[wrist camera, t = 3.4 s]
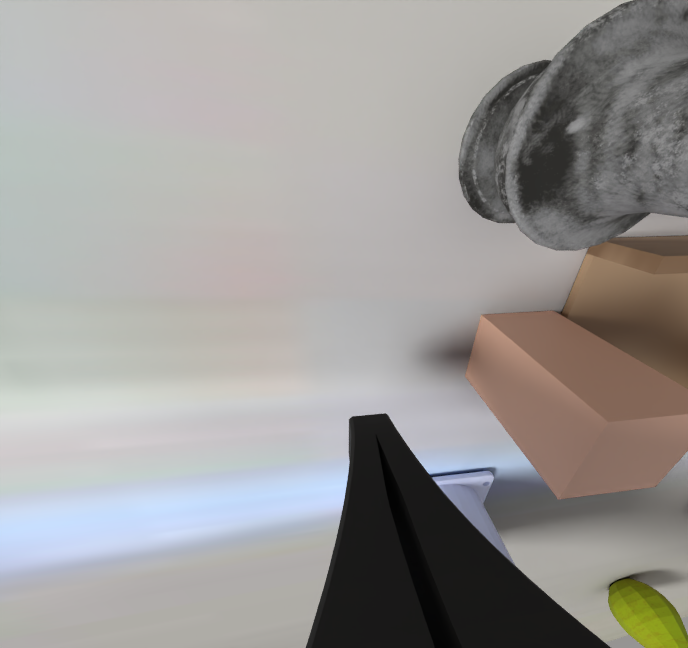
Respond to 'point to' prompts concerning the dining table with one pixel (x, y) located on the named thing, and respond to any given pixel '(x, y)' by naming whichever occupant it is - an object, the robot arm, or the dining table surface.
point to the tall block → (578, 404)
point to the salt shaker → (587, 132)
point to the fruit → (646, 615)
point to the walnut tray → (637, 300)
